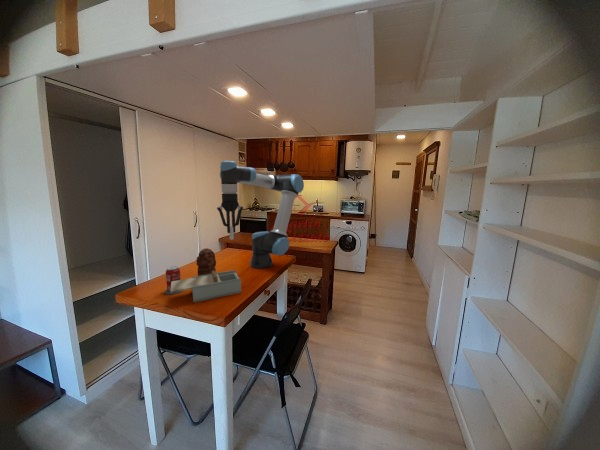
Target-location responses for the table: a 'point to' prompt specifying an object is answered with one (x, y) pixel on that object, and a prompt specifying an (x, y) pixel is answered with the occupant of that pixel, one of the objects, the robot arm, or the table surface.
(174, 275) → the beverage can
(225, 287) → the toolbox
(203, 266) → the wooden figurine
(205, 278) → the lid
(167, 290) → the coaster
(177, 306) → the table surface
